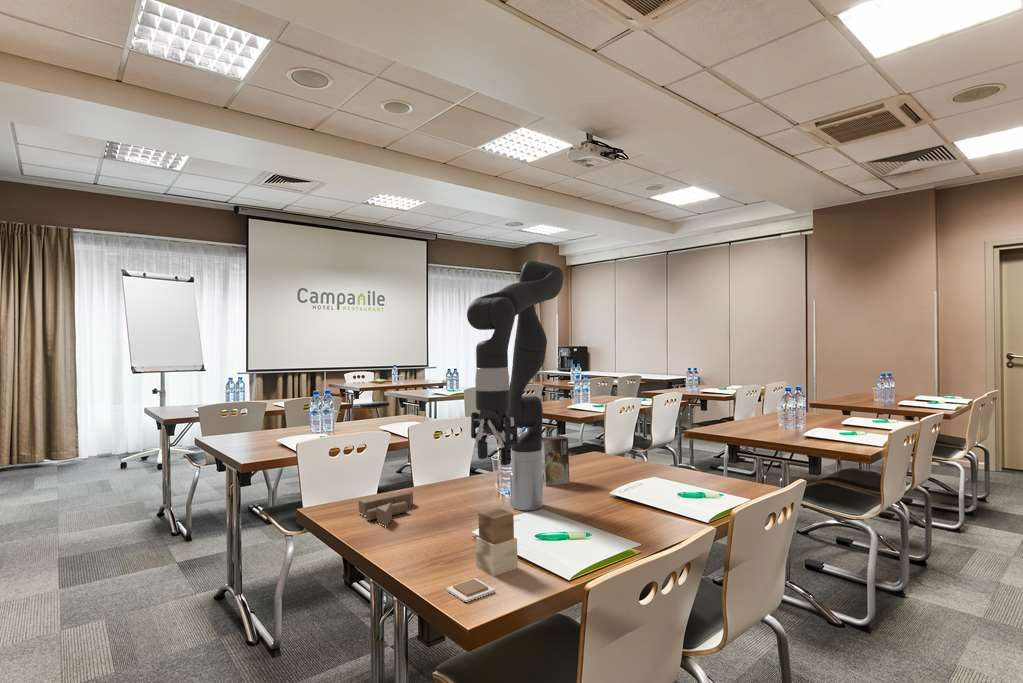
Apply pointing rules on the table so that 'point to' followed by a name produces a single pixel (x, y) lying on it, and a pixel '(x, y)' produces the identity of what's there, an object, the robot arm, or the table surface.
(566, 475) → the coffee box
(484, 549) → the beech cube
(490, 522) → the walnut cube
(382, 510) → the wooden block set
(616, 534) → the table surface
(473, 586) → the walnut tile
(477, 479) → the table surface
